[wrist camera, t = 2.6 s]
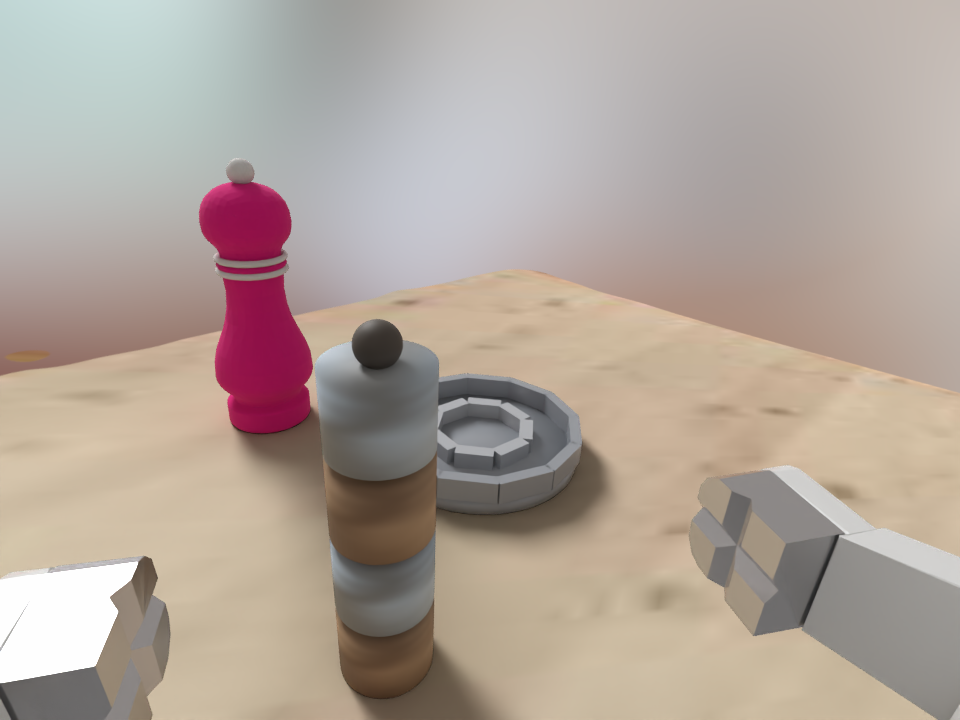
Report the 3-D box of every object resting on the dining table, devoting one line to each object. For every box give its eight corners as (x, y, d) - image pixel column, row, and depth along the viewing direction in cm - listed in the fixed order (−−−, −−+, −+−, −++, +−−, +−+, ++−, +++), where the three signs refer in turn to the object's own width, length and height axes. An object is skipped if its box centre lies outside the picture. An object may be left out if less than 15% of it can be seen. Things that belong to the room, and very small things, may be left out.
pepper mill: (335, 408, 47) (317, 160, 39) (266, 448, 41) (227, 167, 33) (275, 385, 50) (247, 151, 42) (204, 419, 44) (154, 155, 36)
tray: (353, 501, 36) (351, 468, 35) (404, 393, 50) (404, 367, 49) (582, 526, 35) (587, 494, 34) (571, 409, 49) (575, 383, 48)
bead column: (326, 691, 25) (289, 339, 18) (356, 610, 29) (336, 296, 21) (423, 705, 24) (426, 351, 17) (440, 620, 28) (448, 305, 21)
